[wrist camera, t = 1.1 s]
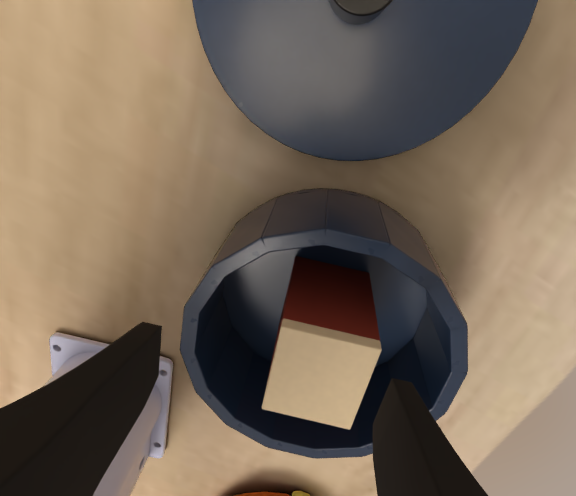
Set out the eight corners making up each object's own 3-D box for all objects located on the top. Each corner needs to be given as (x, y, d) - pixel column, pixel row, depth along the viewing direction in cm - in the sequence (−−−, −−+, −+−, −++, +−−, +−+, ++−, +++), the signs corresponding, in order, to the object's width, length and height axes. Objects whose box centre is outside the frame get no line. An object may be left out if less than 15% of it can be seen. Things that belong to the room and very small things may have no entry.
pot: (395, 398, 25) (410, 481, 20) (203, 353, 25) (171, 425, 20) (474, 219, 20) (522, 273, 15) (230, 163, 20) (195, 198, 15)
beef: (346, 340, 23) (350, 430, 17) (278, 324, 23) (261, 409, 17) (369, 272, 21) (382, 349, 15) (295, 255, 21) (281, 326, 15)
